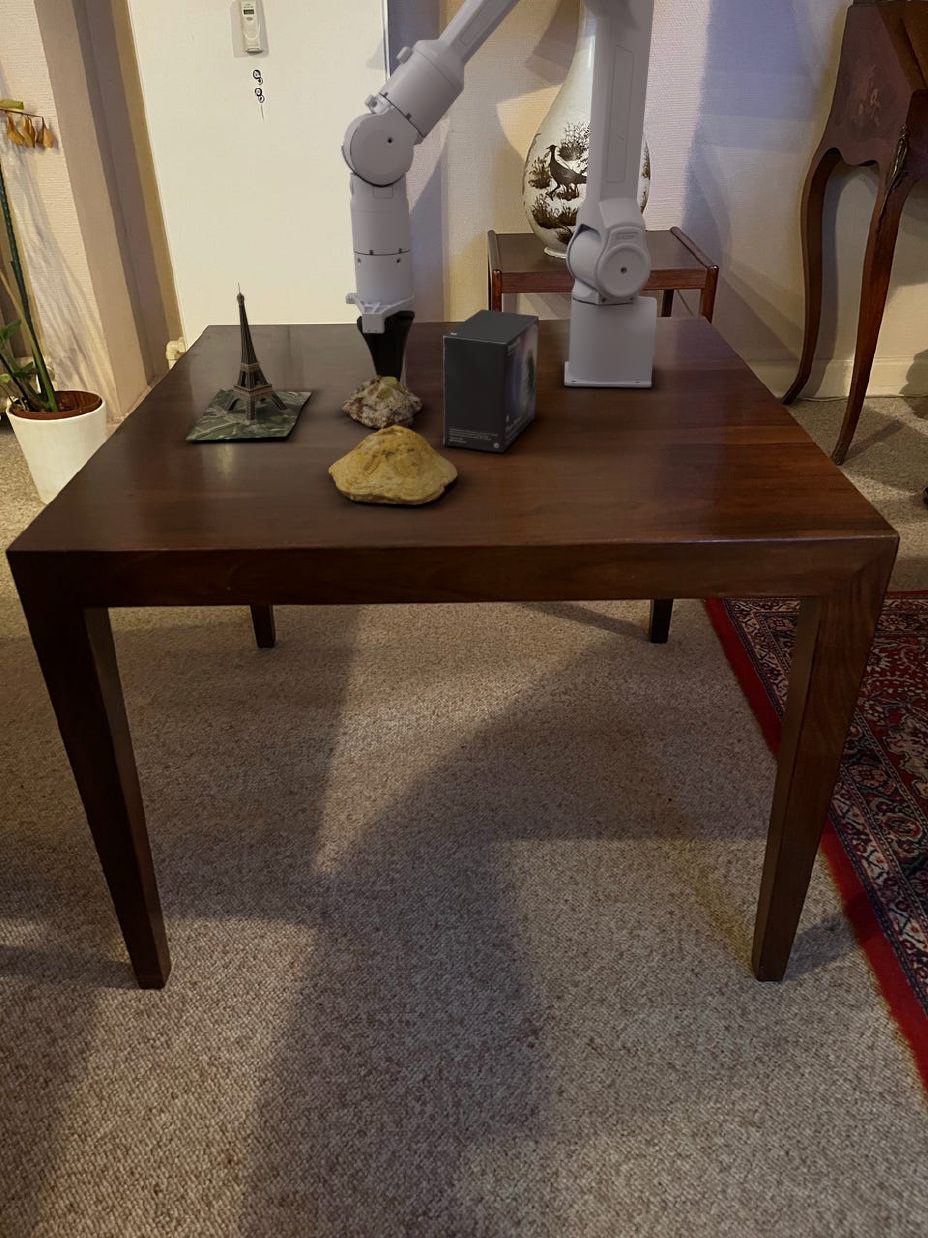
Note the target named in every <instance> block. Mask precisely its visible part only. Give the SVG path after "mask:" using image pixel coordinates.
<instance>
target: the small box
mask: <svg viewBox="0 0 928 1238" xmlns="http://www.w3.org/2000/svg"><path fill="white" fill-rule="evenodd" d="M539 319H540V316H539V315H533V314H532V315H531V314H522V313H515V312H507V311H498V310H490V309H480V310H479V311H477V312H476V313H474V314H473V315H471V316H470V317H468V318H467V319H466V320H464V321H463V322H461V323H460V324H459V325H457V326H455V327H454V328H452V329H451V330H450V331H448V332H447V333H445V334H443V336H442V368H443V369H442V370H443V371H442V373H443V375H442V382H443V387H442V388H443V439H442V440H443V442H442V445H443V446H447V447H448V446H449V447H458V448H463V449H473V450H476V451H477V450H478V451H486V452H492V453H501V454H502V453H504V452H505V451H506V450H507V449H508V447H510V445H511V444H512V443H514V442H515V440H516V439H517V437H518V436H520V435H521V433H522V432H524V430H525V429H526V428H527V427H528V426H529V424H531V422H532V421H533V420H534V419H535V417H536V394H537V393H536V392H537V391H536V390H537V371H538V370H537V366H538V345H539V344H538V343H539V342H538V340H539Z"/></svg>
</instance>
